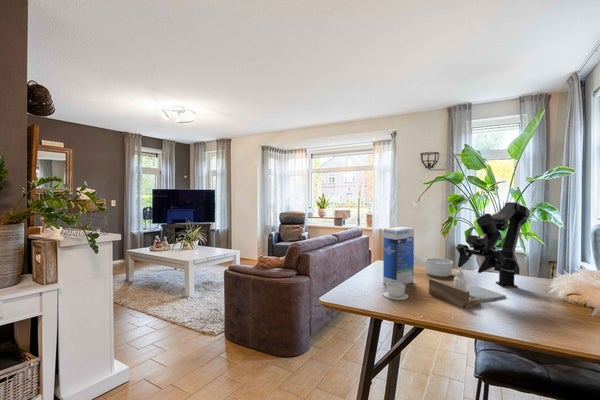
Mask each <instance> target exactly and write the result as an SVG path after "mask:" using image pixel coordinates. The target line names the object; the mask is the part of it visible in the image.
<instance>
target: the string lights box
mask: <svg viewBox="0 0 600 400" xmlns="http://www.w3.org/2000/svg"><path fill="white" fill-rule="evenodd" d="M414 242H415V229H414V227H410V226H409V227H407V226H397V227H387V228H383V262H382V263H383V266H382V267H383V276H382V277H383V282H382V284H384V285H386V284H387V283H391V282H395V283H401V284H404V285H405V286H407V285H409V284H412V283H414V282H415V281H414V279H415V277H414V273H415V272H414V261H415V259H414V258H415V257H414V254H415V253H414V252H415V250H414V249H415V248H414V247H415V246H414V244H415V243H414Z"/></svg>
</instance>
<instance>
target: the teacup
mask: <svg viewBox="0 0 600 400" xmlns="http://www.w3.org/2000/svg"><path fill="white" fill-rule="evenodd" d="M385 285H386V290H387V291H385V292H383V293H382V295H383V296H384V297H385V298H388V299H391V300H398V301H401V300H403V301H404V300H407V299H408V298H409V297H410V296H409V294H407V293H405V292H406V285H404V284H401V283H395V282H391V283H387V284H385Z"/></svg>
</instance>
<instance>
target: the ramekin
mask: <svg viewBox="0 0 600 400" xmlns="http://www.w3.org/2000/svg"><path fill="white" fill-rule="evenodd" d="M424 263H425V271H426V273H427V274H428V275H430V276H433V277H440V278H445V277H447V278H448V277H450V276H451V275H452V272H453V266H454V262H453V261H452V260H449V259H446V258H437V257H430V258H426V259H424Z"/></svg>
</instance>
